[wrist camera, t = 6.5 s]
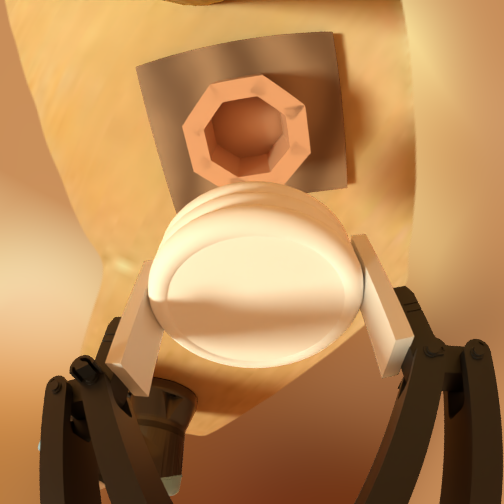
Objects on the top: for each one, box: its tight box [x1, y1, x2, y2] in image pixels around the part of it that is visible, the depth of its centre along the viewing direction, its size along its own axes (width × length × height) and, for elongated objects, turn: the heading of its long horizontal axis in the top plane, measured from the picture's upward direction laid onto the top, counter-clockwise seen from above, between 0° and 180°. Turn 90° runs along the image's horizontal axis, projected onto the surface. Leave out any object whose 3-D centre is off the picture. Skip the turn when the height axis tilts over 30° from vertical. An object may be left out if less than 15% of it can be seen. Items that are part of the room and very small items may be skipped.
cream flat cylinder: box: [148, 181, 364, 368], centre depth 15 cm, size 10×10×4 cm
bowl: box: [182, 74, 311, 187], centre depth 23 cm, size 9×9×6 cm
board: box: [136, 32, 347, 214], centre depth 26 cm, size 18×16×1 cm
